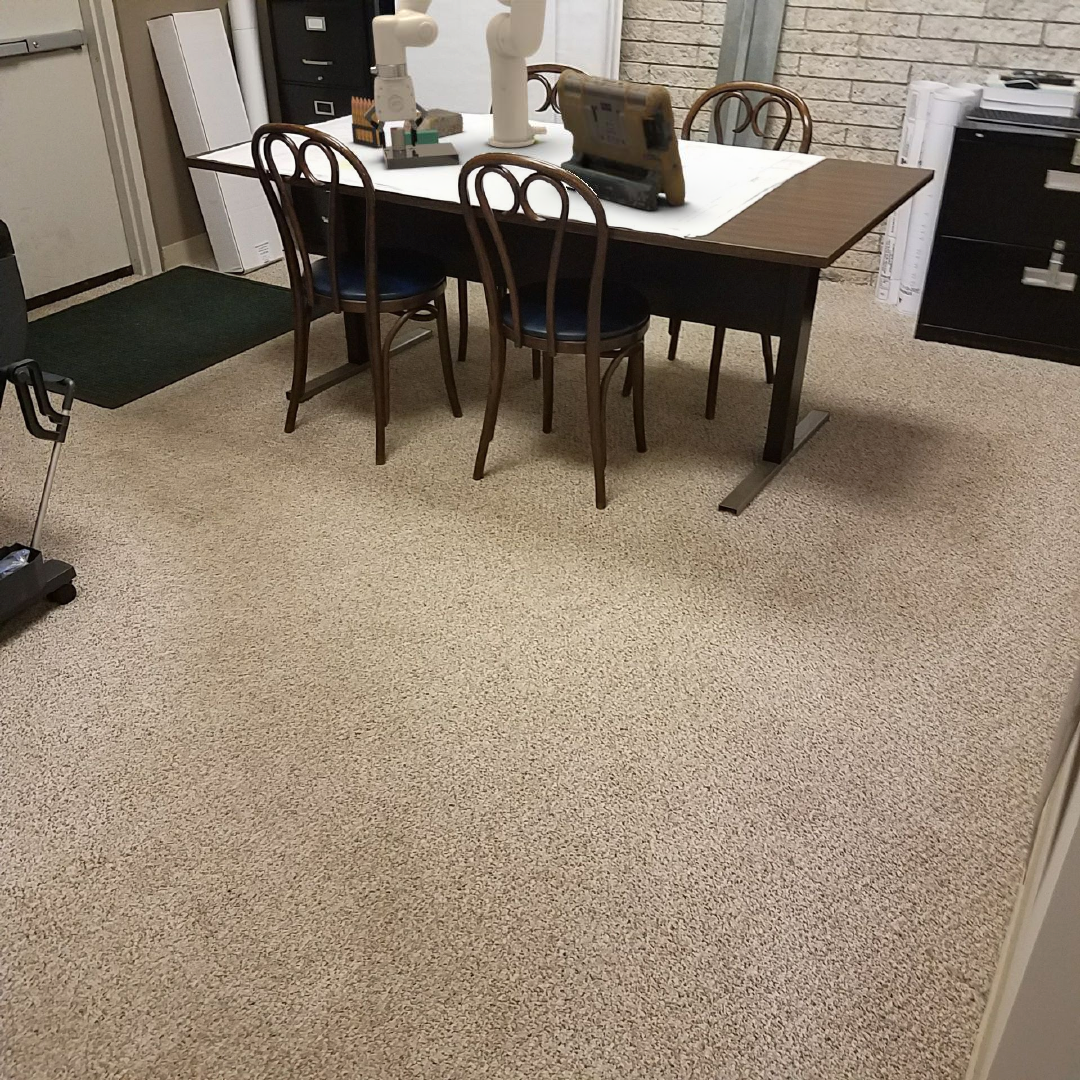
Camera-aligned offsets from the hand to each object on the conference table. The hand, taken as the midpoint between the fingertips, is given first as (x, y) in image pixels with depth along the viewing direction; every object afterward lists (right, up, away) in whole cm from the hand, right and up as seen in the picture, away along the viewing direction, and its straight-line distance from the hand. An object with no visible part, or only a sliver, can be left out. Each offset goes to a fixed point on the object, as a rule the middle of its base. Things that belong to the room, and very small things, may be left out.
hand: (398, 145), depth 271 cm
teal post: (+3, +5, +13) cm, 14 cm away
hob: (+6, -4, 0) cm, 7 cm away
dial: (0, -1, 0) cm, 1 cm away
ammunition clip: (-11, +7, +17) cm, 22 cm away
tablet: (+54, -23, -33) cm, 67 cm away
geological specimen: (+6, +14, +28) cm, 32 cm away
